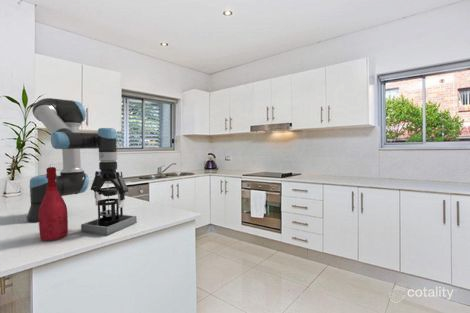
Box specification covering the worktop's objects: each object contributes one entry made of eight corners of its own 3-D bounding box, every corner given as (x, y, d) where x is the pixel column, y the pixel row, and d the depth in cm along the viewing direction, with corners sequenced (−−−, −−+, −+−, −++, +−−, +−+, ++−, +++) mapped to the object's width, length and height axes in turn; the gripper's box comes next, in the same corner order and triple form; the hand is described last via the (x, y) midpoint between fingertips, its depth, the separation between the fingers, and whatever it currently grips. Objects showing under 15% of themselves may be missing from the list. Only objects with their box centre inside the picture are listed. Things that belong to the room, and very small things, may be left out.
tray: (81, 232, 111) (81, 224, 110) (113, 220, 128) (112, 213, 127) (107, 235, 106) (106, 227, 106) (136, 223, 123) (136, 216, 123)
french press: (102, 230, 109) (100, 179, 108) (92, 226, 115) (90, 177, 114) (127, 223, 118) (125, 176, 117) (117, 220, 124) (115, 175, 123)
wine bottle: (49, 233, 109) (46, 166, 107) (73, 232, 110) (70, 165, 108) (33, 242, 99) (29, 168, 98) (59, 241, 100) (56, 168, 98)
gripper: (81, 161, 116) (82, 205, 117) (123, 162, 107) (124, 210, 109) (94, 160, 123) (96, 202, 124) (135, 161, 115) (136, 206, 116)
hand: (109, 206), depth 116 cm, fingers open, 13 cm apart
